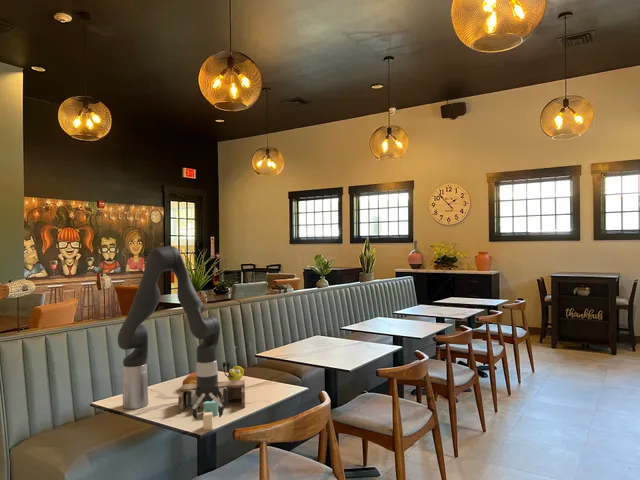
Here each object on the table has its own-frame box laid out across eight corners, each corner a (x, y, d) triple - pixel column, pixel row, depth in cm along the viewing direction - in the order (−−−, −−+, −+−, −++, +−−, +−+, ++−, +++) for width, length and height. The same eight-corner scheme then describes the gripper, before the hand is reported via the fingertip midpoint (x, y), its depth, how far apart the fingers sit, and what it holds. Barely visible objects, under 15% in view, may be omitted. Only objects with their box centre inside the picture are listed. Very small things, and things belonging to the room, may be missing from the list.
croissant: (178, 397, 211) (176, 380, 210) (192, 382, 226) (190, 366, 225) (209, 397, 209) (207, 380, 208) (220, 381, 224) (218, 365, 223)
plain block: (186, 407, 191) (186, 395, 191) (188, 403, 196) (187, 391, 196) (199, 406, 192) (198, 394, 192) (200, 402, 197) (200, 390, 197)
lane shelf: (178, 413, 185) (178, 394, 185) (183, 402, 198) (182, 384, 198) (244, 407, 188) (244, 389, 188) (245, 397, 202) (244, 379, 202)
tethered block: (200, 429, 168) (200, 415, 168) (205, 411, 186) (205, 399, 186) (215, 428, 168) (214, 414, 168) (218, 410, 186) (217, 398, 186)
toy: (248, 358, 218) (231, 362, 204) (247, 389, 216) (230, 395, 202) (236, 357, 220) (219, 361, 206) (235, 388, 218) (218, 394, 205)
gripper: (185, 377, 165) (186, 423, 165) (226, 374, 167) (227, 419, 167) (188, 371, 172) (189, 415, 173) (227, 368, 175) (228, 412, 175)
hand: (208, 417), depth 170 cm, fingers open, 8 cm apart
